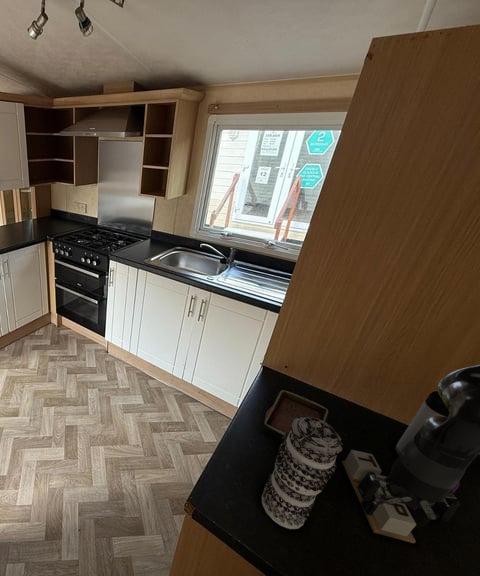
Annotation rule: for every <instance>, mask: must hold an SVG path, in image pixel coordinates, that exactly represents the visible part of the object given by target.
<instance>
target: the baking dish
mask: <svg viewBox="0 0 480 576" xmlns="http://www.w3.org/2000/svg"><path fill="white" fill-rule="evenodd" d="M328 416H329V409H328V408H326V407H325V406H323V405H321V404H319V403H318V402H315V401H313V400H310V399H309V398H307V397H304V396H302V395H299V394H296V393H294V392H291V391H289V390H284V389H281V390H280V391H279V392H278V393H277V395H276V398H275V400H274V403H273V404H272V406H271V407H270V408H269V409H268V410H267V411H266V412H265V418H264V421H263V423H264V424H263V429H262V432H263V433H265V434H267V435H269V436H271V437H273V438H275V439H277V440H278V441H279V442H280V443H281V442H283V441H282V438H283V437H284V436H285V434H286V433H288V432H289V433H290V431H291V430H292V422H293V420H294V419H296V418H298V417H313V418H317V419H320V420H322V421H324V422H326V423H327V419H328ZM286 440H287V438H286Z"/></svg>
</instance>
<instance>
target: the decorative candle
mask: <svg viewBox="0 0 480 576" xmlns="http://www.w3.org/2000/svg"><path fill="white" fill-rule="evenodd" d="M286 438H287V440H286ZM282 441H283V442H281V441H280V445H279V448H278V451H277V452H278V453H277V455H276V457H275V458H276V459H275V462H274V470H273V471H272V473H270V474H269V477H268V479H267V482H266V483H265V486H264V487H263V492H262V495H261V505H262V507H263V509H264V511H265V513H266V514H267V515H268V516H269V517H270V519H271V520H272V521H273V522H275V523H276V524H278V525H279V526H280V527H283V528H286V529H288V530H298V529H300V528H301V527H303V526H304V524H305V522H306V521H307V520H308V519H307V517H309V516H310V512H312V508H314V506H315V501H316V496H317V495H319V494H320V493H321V492H322V491H323V490H324V488H326V487H327V484H328V481H329V480H330V479H331V478H332V476H333V475H334V473H335V472H336V471H335V470H336V469H337V465H336V460H337V456H338V454H339V453H341V452H343V447H344V443H343V441H342V438H341V437H340V435H339V434H338V432H337V431H336V430H335V429H334V428H333V427H332V426H331V425H330V424H329V423H327V421H326V422H324V421H322V420H320V419H317V418H313V417H298V418H296V419H294V420H293V422H292V430H291V431H290V433H289V432H288V433H286V434H285V436H284V437H283V438H282Z"/></svg>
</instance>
